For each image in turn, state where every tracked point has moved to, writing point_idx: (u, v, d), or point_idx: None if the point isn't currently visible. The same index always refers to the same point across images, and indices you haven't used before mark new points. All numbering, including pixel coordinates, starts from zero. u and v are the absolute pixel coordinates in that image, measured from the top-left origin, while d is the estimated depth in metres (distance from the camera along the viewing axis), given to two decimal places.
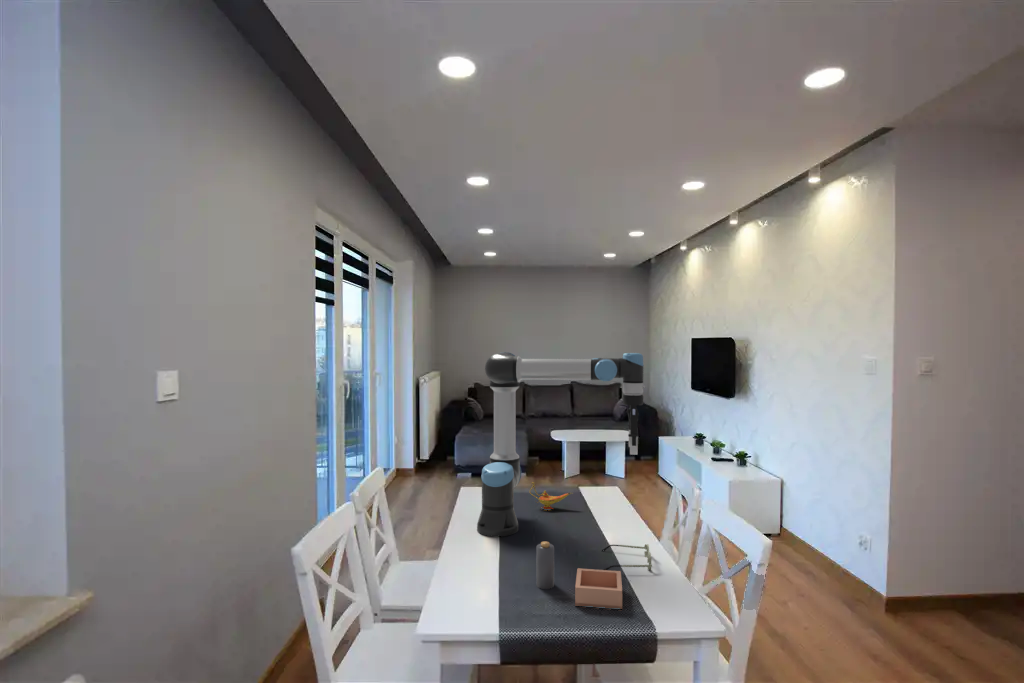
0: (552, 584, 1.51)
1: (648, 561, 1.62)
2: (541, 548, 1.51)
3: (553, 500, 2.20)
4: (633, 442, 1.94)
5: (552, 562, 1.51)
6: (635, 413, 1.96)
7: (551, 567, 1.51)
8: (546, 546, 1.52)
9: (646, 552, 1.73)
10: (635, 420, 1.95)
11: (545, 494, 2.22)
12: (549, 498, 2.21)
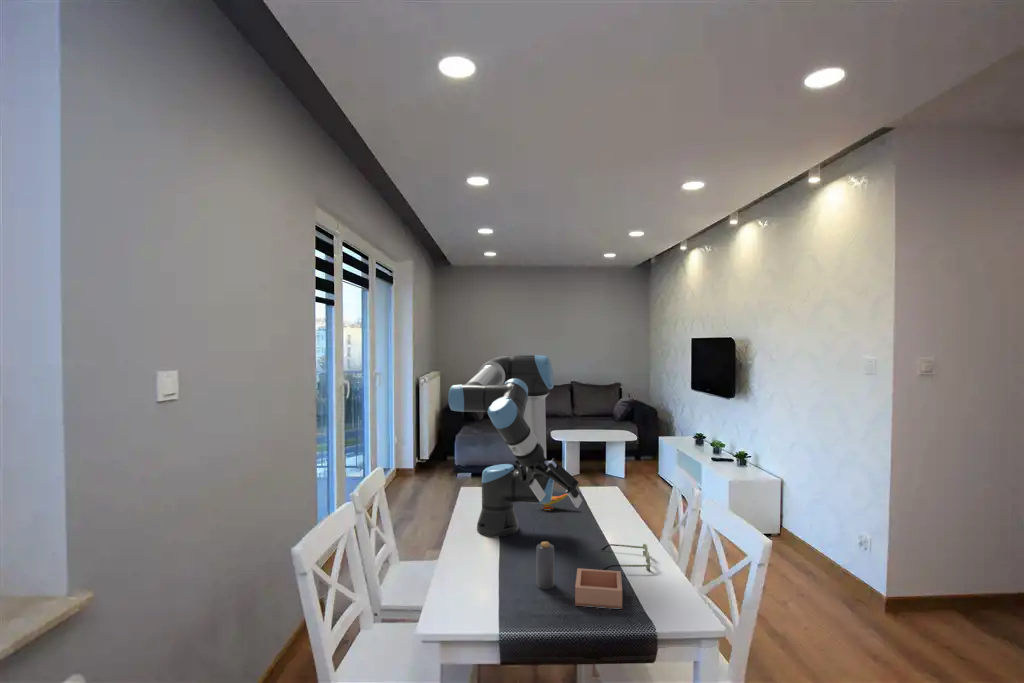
0: (552, 584, 1.51)
1: (647, 561, 1.62)
2: (541, 548, 1.51)
3: (553, 500, 2.20)
4: None
5: (552, 562, 1.51)
6: None
7: (551, 567, 1.51)
8: (546, 546, 1.52)
9: (644, 552, 1.74)
10: None
11: None
12: None
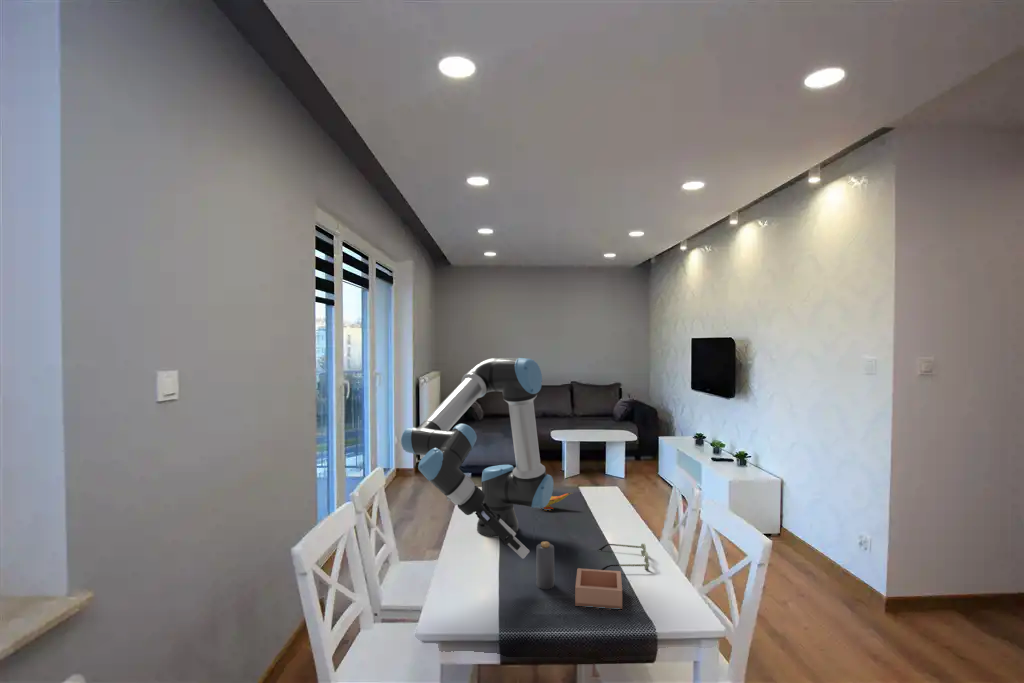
0: (552, 584, 1.51)
1: (645, 560, 1.63)
2: (541, 548, 1.51)
3: (553, 500, 2.20)
4: None
5: (552, 562, 1.51)
6: None
7: (551, 567, 1.51)
8: (546, 546, 1.52)
9: (643, 551, 1.74)
10: None
11: None
12: None
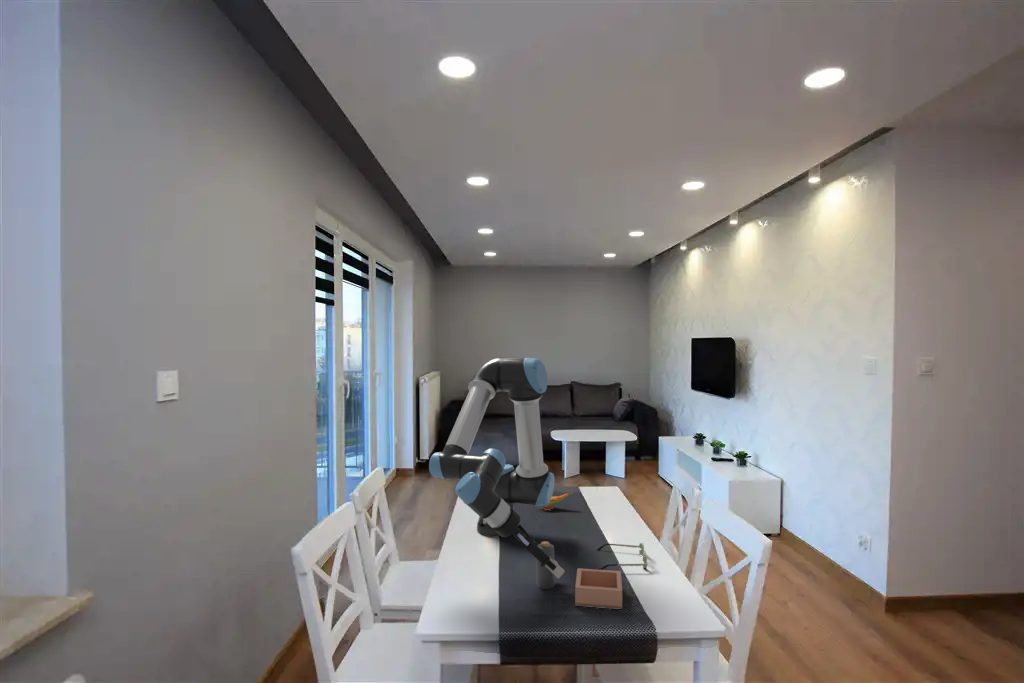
0: (552, 584, 1.51)
1: (643, 560, 1.63)
2: (541, 548, 1.51)
3: (553, 500, 2.20)
4: None
5: None
6: None
7: None
8: (546, 546, 1.52)
9: (641, 551, 1.74)
10: None
11: None
12: None
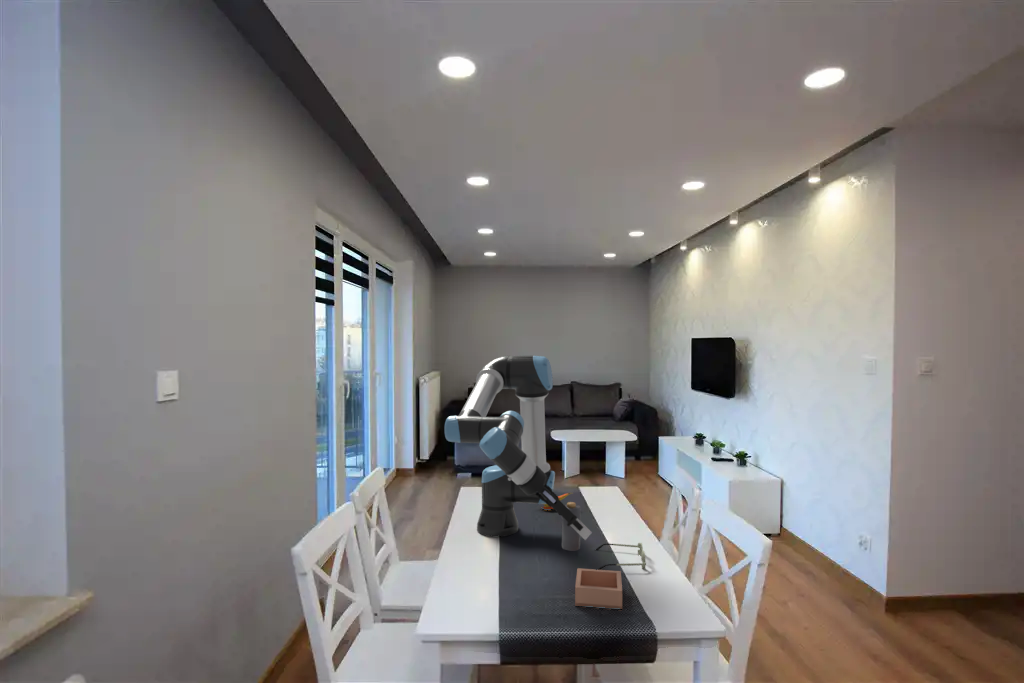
0: (578, 546, 1.46)
1: (642, 559, 1.63)
2: None
3: None
4: None
5: None
6: None
7: None
8: (572, 506, 1.46)
9: (639, 550, 1.75)
10: None
11: None
12: None
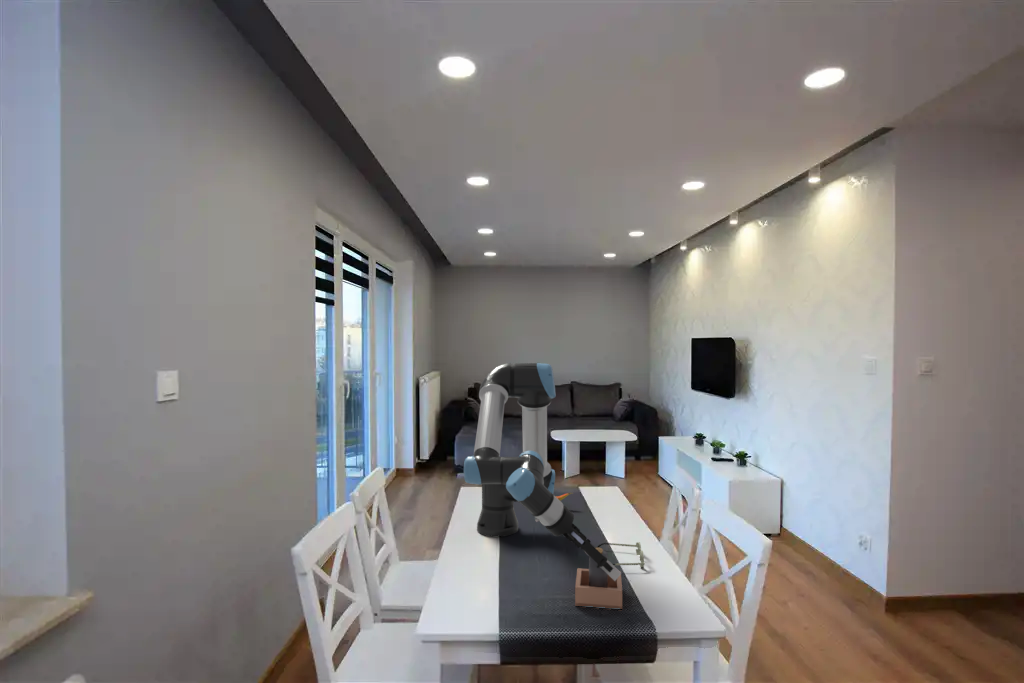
0: None
1: (640, 559, 1.64)
2: None
3: None
4: None
5: None
6: None
7: (605, 574, 1.44)
8: None
9: (637, 550, 1.75)
10: None
11: None
12: None
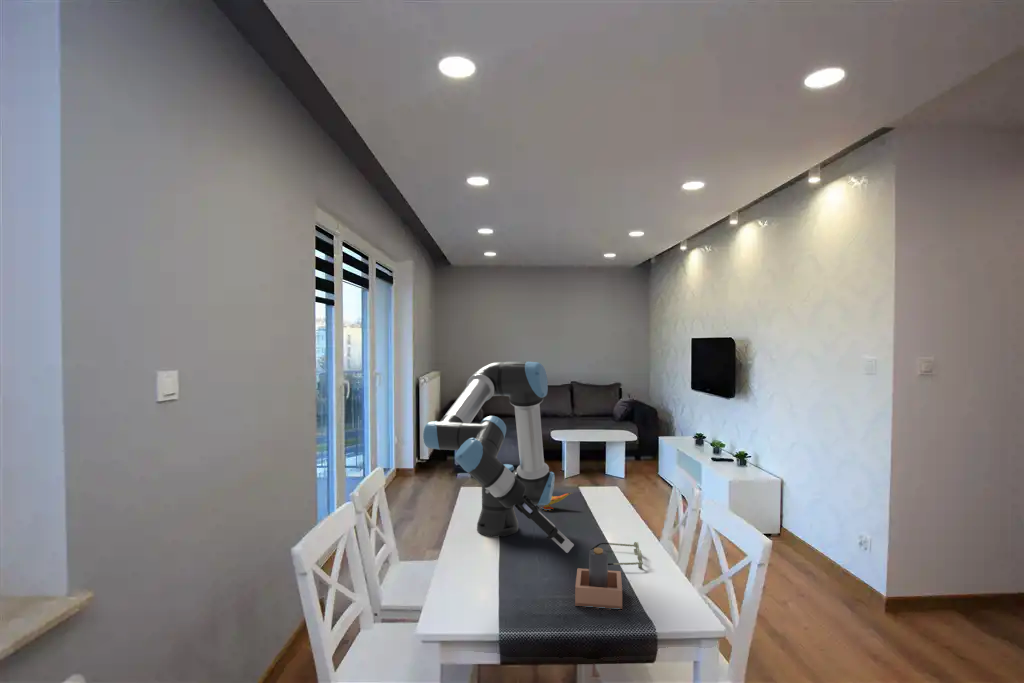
0: None
1: (639, 558, 1.64)
2: (594, 555, 1.44)
3: (553, 500, 2.20)
4: None
5: (606, 569, 1.44)
6: None
7: (605, 574, 1.44)
8: (600, 553, 1.44)
9: (635, 550, 1.75)
10: None
11: None
12: None
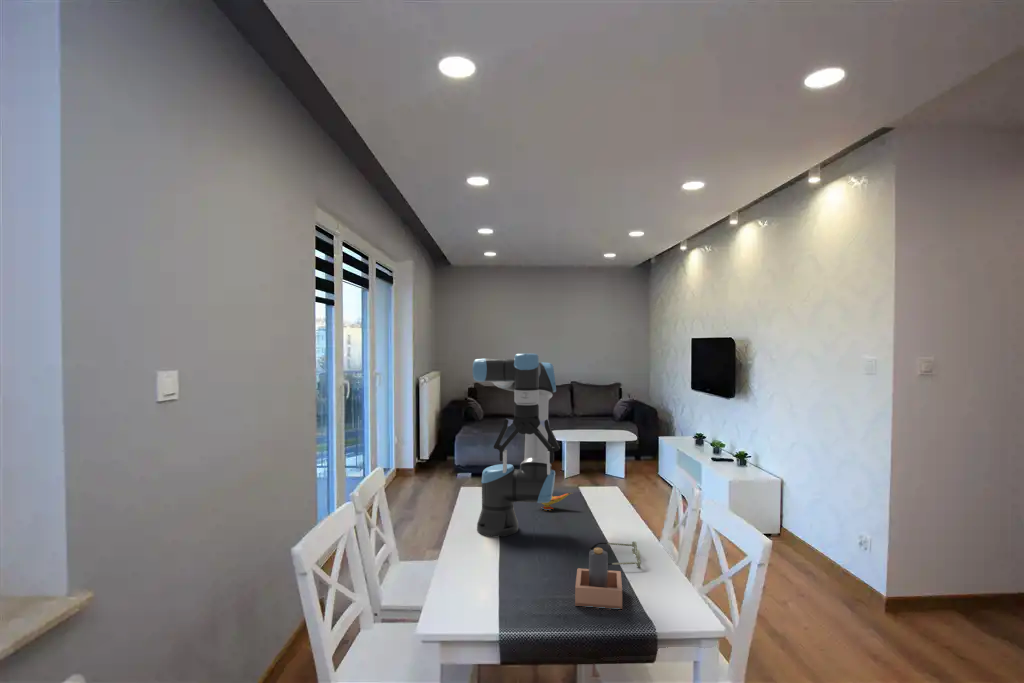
0: None
1: (637, 558, 1.64)
2: (594, 555, 1.44)
3: (553, 500, 2.20)
4: (500, 456, 1.67)
5: (606, 569, 1.44)
6: None
7: (605, 574, 1.44)
8: (600, 553, 1.44)
9: (633, 549, 1.76)
10: (501, 431, 1.67)
11: None
12: None
